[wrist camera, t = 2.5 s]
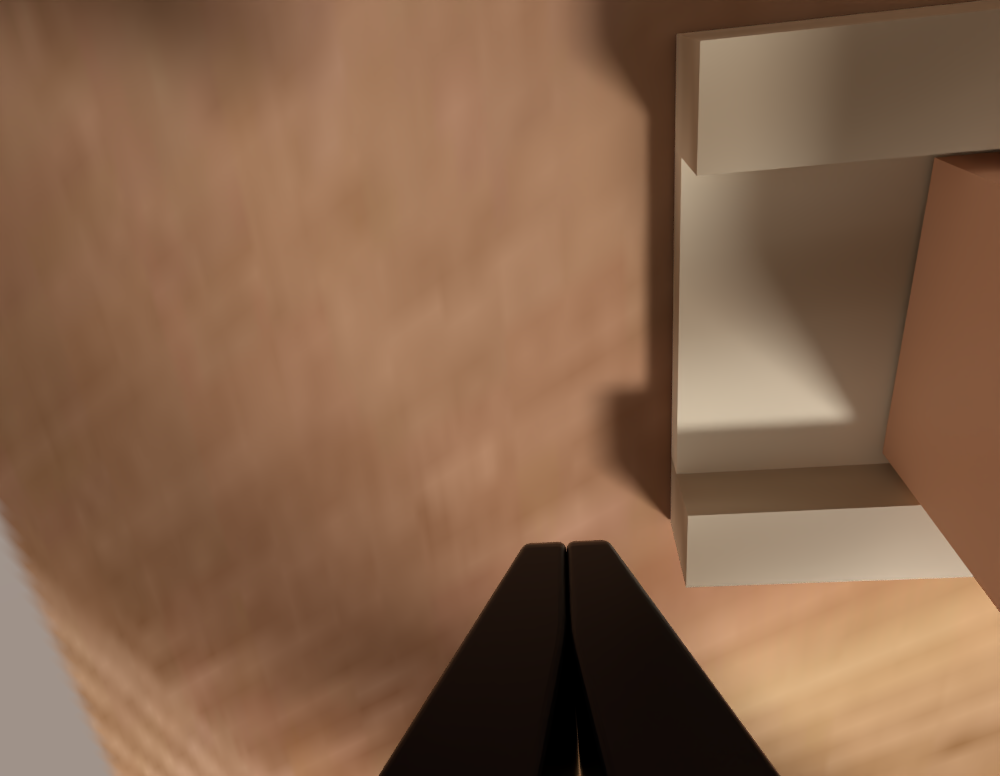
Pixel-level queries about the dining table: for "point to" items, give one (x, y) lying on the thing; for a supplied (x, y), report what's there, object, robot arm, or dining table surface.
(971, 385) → the block
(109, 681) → the dining table surface
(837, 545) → the chute
